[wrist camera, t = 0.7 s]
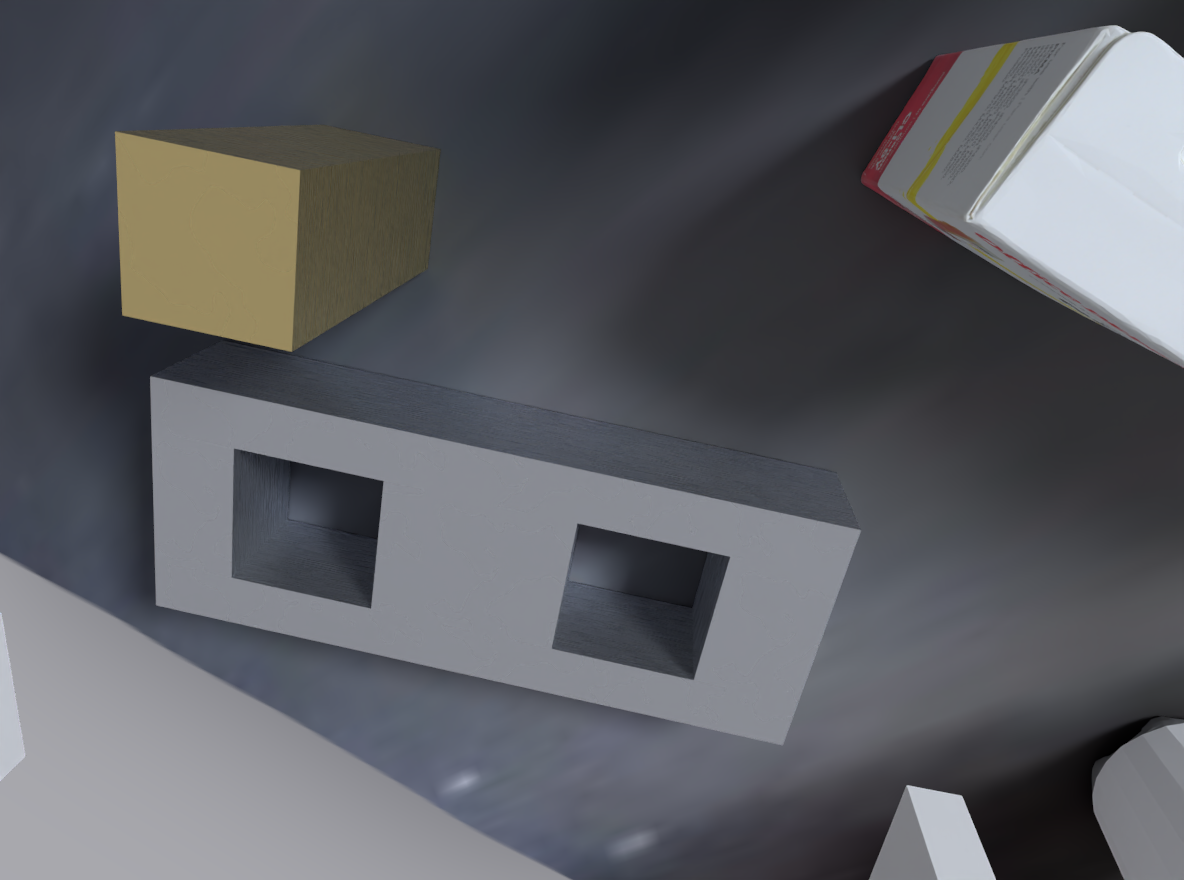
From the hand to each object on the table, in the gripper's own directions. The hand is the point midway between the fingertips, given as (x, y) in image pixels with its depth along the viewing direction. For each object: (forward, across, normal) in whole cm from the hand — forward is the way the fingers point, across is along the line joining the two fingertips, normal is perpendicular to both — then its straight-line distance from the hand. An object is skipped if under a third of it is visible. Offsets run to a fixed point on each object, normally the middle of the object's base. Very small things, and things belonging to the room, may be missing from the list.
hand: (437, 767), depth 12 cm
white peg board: (+22, -3, -8) cm, 24 cm away
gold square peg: (+22, -9, +4) cm, 24 cm away
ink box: (+23, +13, +8) cm, 27 cm away
